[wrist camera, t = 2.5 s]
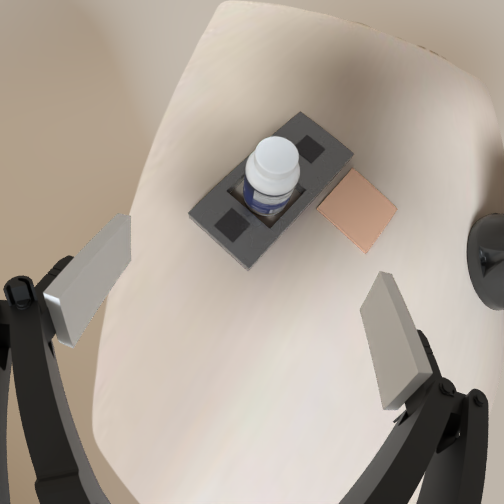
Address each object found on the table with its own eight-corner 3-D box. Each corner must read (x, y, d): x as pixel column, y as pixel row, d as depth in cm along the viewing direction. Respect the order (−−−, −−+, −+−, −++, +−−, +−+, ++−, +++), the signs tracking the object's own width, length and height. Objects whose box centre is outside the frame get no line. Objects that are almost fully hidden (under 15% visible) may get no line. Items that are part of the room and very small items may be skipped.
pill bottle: (247, 171, 36) (253, 124, 27) (290, 180, 36) (309, 136, 27) (238, 212, 35) (241, 173, 25) (284, 221, 35) (303, 186, 26)
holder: (297, 118, 38) (300, 111, 37) (349, 159, 38) (354, 153, 36) (189, 217, 34) (187, 212, 33) (248, 271, 33) (249, 268, 32)
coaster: (351, 168, 37) (352, 167, 37) (396, 209, 37) (397, 208, 36) (316, 209, 36) (317, 207, 35) (365, 253, 35) (366, 253, 34)
